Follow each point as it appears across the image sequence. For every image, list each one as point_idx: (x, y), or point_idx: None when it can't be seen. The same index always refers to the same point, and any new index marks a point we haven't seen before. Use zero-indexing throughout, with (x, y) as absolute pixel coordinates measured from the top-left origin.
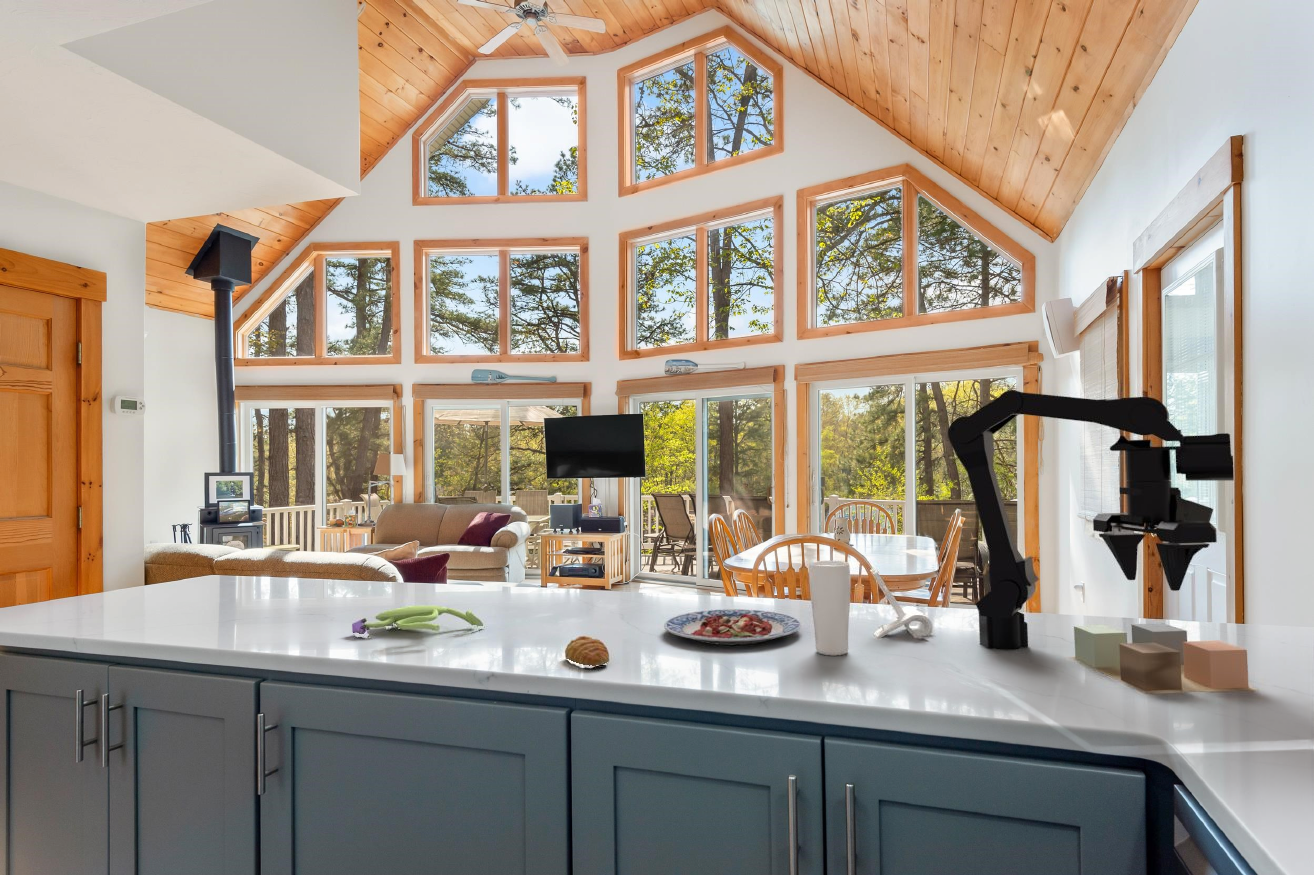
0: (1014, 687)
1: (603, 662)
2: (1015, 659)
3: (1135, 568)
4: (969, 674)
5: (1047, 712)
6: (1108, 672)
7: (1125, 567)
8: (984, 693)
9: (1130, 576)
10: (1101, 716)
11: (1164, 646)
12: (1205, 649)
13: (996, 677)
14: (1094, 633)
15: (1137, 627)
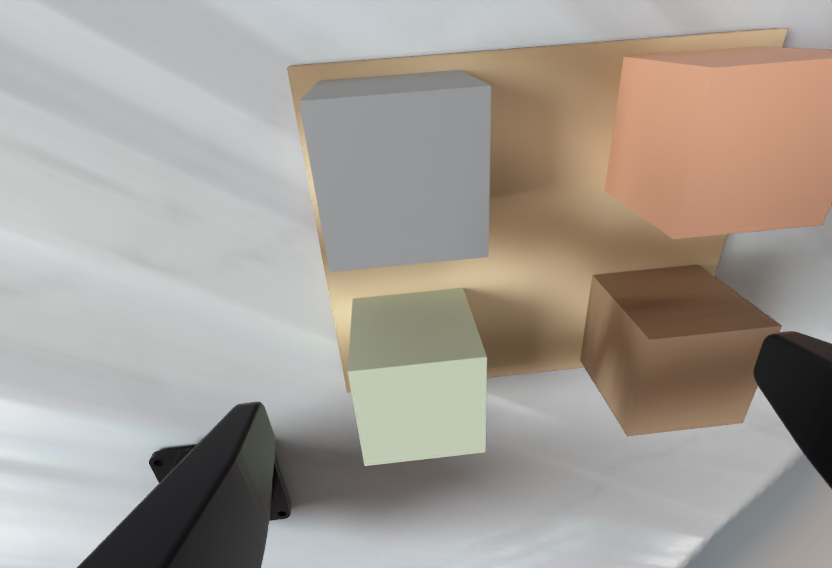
0: (539, 520)
1: None
2: (320, 475)
3: (232, 485)
4: (444, 560)
5: (681, 511)
6: (513, 360)
7: (254, 565)
8: (563, 560)
9: (268, 456)
10: (731, 453)
11: (706, 336)
12: (799, 226)
13: (470, 531)
14: (484, 449)
15: (374, 265)
